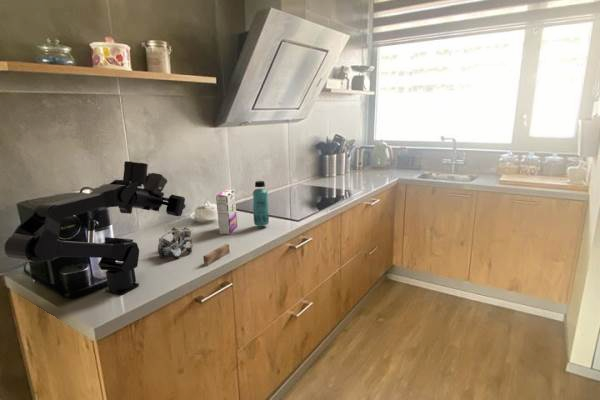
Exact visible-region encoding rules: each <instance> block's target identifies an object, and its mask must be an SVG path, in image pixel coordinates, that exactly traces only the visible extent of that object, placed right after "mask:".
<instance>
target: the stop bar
mask: <svg viewBox="0 0 600 400" xmlns="http://www.w3.org/2000/svg"><path fill="white" fill-rule="evenodd" d="M228 254H230V244H229V243H225V244H223V245H221V246H219V247H217V248H216V249H214V250H212V251H210V252H209V253H207V254H205V255H203V266H210V265H212V264H213V263H215V262H216V261H218V260H219V259H221V258H223V257H225V256H227V255H228Z"/></svg>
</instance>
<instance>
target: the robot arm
mask: <svg viewBox="0 0 600 400" xmlns="http://www.w3.org/2000/svg"><path fill="white" fill-rule="evenodd" d="M123 165H124V168H123V177H122V179H114V180H113V181H111V182H110V183H106V184H102V185H100V186H98V187H96V188H95V189H93V190H92V191H91V192H89V193H84V194H82V195H78V196H73V197H69V198H66V199H65V198H64V199H62V200H61V199H60V200H58V201H54V202H52V201H51V202H49V203H42V204H39V205H38V206H37V207H36V208H35V209H34V210H33V211H32V213H31V215H30V216H29V217H27V218H26V219H24V220H23V221H22V222H21V223H20V224H19V225H17V227H16V228H15V230H14V232H13V233H12V235H11V236H10V237H8V239H6V241H5V244H4V253H5V255H6V256H7V258H8V259H10V260H17V261H23V262H29V263H30V262H31V263H44V262H49V261H54V260H55V259H58V258H92V259H93V258H95V259H96V258H98V259H100V260H99V262H98V267H99V268H100V270H101V271H105V275H106V281H107V288H105V289H104V292H107V293H109V294H110V293H111V294H114V295H118V296H122V295H124V294H126V293H128V292H129V291H132V290H133V289H136V288H137V287H138V286H140V283H137V279H136V273H135V269H136V268H137V267H138V264H139V258H140V257H139V256H140V249H139V245H138V243H137V242H135V241H134V239H132V238H122V237H121V238H119V237H110V236H109V237H108V236H105V237H104V241H103V242H85V241H70V240H69V241H68V240H60V239H59V237H60V231H61V224H62V222H63V220H64V219H67V218H71V217H74V216H79V215H81V214H82V215H83V214H85V213H87V212H91V211H94V210H97V209H101V208H116V207H117V208H119V213H121V214H129V215H131V214H132V212H133V209H140V210H146V211H153V212H159V211H160V208H161V207H162V206H166V209H165V212H166V214H167V215H170V216H174V217H181V216H182V215H183V210H184V209H185V208H186V206H187V205H186V204H185V203H186V198H185V196H180V195H176V194H170V195H169V196H168V197H165V196H164V195H165V192H163V190H164V188H165V187H166V184H168V179H167V178H166V177H165V176H163V175H162V174H161V173H156V172H155V173H154V172H149V173H148V168H149V167H148V166H149V165H148V163H145V162H135V161H129V160H128V161H127V160H126V161H124V164H123ZM142 186H143V188H142ZM42 227H44V228H43V230H42V231H41V234H37V233H36V232H37V231H39V230H40V229H41V228H42ZM35 233H36V234H35Z"/></svg>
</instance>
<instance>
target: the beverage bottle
mask: <svg viewBox="0 0 600 400" xmlns="http://www.w3.org/2000/svg"><path fill="white" fill-rule="evenodd" d="M254 183H255V184H254V187H255V188H256V189H254V190H253V191H252V199H253V200H252V201H253V204H252V207H253V209H252V211H253V224H254V225H255V226H258V227H259V226H260V227H261V226H267V225H268V224H269V223H270V221H269V217H270V216H269V215H270V214H269V201H268V200H269V199H268V197H269V195H268V193H269V191H268V190H267V189H266V188H265V187H266V184H265V181H264V180H257V181H255V182H254Z"/></svg>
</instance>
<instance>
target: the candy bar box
mask: <svg viewBox="0 0 600 400" xmlns="http://www.w3.org/2000/svg"><path fill="white" fill-rule="evenodd" d="M235 191H236V190H235V189H223V190H222V191H221V192H219V193H218V194H217V195H216V196H215V200H216V210H217V211H216V212H217V221H218V233H219V235H231V234H232V233H233V232H234V231H235V230H236V228H237V227H238V218H237V217H238V216H237V205H236V194H235Z"/></svg>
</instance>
